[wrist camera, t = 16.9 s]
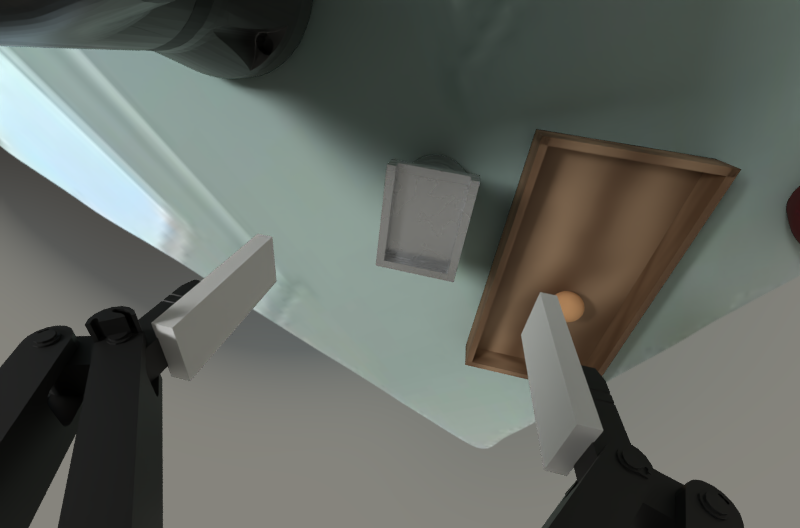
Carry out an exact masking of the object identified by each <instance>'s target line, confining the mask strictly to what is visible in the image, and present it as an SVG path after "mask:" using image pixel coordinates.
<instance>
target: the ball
mask: <svg viewBox="0 0 800 528" xmlns="http://www.w3.org/2000/svg"><path fill="white" fill-rule="evenodd" d="M556 296H557V297H558V300H559V303H560V306H561V309H562V312H563V315H564V318H565V320H566V322H574V321H576V320H578V319H579V318H580V317H581V316H582V315H583V313H584V309H585V307H584V302H583V300H582V299H581V297H580V296H579V295H577V294H576V293H574V292H570V291H562V292H559V293H557V294H556Z"/></svg>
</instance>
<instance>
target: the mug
mask: <svg viewBox="0 0 800 528" xmlns="http://www.w3.org/2000/svg"><path fill="white" fill-rule="evenodd" d="M786 211H787V216H788V221H789V225H790V228H791V231H792V233H793V235H794V237H795V238H796V240H797V241H798V242H799V243H800V186H799V187H798V188H797V189H796V190H795V191H794V192H793V193H792V195H791V196H790V198H789V200H788V202H787V207H786Z"/></svg>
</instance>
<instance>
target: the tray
mask: <svg viewBox="0 0 800 528" xmlns="http://www.w3.org/2000/svg"><path fill="white" fill-rule="evenodd" d="M740 170H741V169H739V168H737V167H734V166H732V165H729V164H727V163H724V162H722V161H719V160H717V159H713V158H707V157H701V156H695V155H689V154H683V153H677V152H671V151H665V150H659V149H653V148H647V147H641V146H635V145H629V144H623V143H617V142H611V141H605V140H599V139H593V138H587V137H581V136H575V135H569V134H563V133H557V132H551V131H545V130H539V129H536V131H535V134H534V138H533V141H532V144H531V147H530V150H529V153H528V156H527V159H526V162H525V165H524V168H523V171H522V174H521V178H520V181H519V184H518V187H517V190H516V193H515V196H514V199H513V202H512V205H511V208H510V211H509V214H508V218H507V221H506V224H505V227H504V230H503V233H502V236H501V239H500V242H499V245H498V248H497V251H496V254H495V258H494V261H493V264H492V267H491V270H490V273H489V276H488V279H487V282H486V285H485V288H484V291H483V294H482V298H481V301H480V304H479V307H478V310H477V313H476V316H475V319H474V322H473V325H472V328H471V331H470V334H469V338H468V341H467V344H466V359H465V365H469V366H473V367H478V368H482V369H486V370H490V371H495V372H499V373H503V374H507V375H512V376H516V377H520V378H524V379H528V373H527V367H526V361H525V355H524V349H523V343H522V338H521V334H522V331H523V329H524V327H525V325H526V323H527V320H528V318H529V316H530V314H531V311H532V309H533V307H534V305H535V302H536V300H537V298H538V296H539V294H540V292H542V293H547V294H551V295H556V294H557V293H559V292H562V291H570V292H574V293H576V294H577V295H579V296H580V297H581V299H582V300H583V302H584V307H585V309H584V313H583V315H582V316H581V317H580V318H579V319H578V320H576V321H574V322H566V323H567V326H568V329H569V332H570V335H571V338H572V341H573V344H574V347H575V349H576V352H577V355H578V358H579V361H580V364H581V365H583V366H588V367H592V368H595V369H596V370H597V371H598V372H599V373H600V375H601V376H602V375H603V374H604V372H605V371H606V369H607V368H608V367H609V365H610V364H611V362H612V361H613V359H614V358H615V356H616V355H617V353H618V352H619V350H620V349H621V347H622V346H623V344H624V343H625V341H626V340H627V338H628V337H629V335H630V334H631V332H632V331H633V329H634V328H635V326H636V325H637V323H638V322H639V320H640V319H641V317H642V316H643V315H644V313H645V312H646V310H647V309H648V307H649V306H650V304H651V303H652V301H653V300H654V298H655V297H656V295H657V294H658V292H659V291H660V289H661V288H662V286H663V285H664V283H665V282H666V280H667V279H668V277H669V276H670V274H671V273H672V271H673V270H674V268H675V267H676V265H677V264H678V263H679V261H680V260H681V258H682V257H683V255H684V254H685V252H686V251H687V249H688V248H689V246H690V245H691V243H692V242H693V240H694V239H695V237H696V236H697V234H698V233H699V231H700V230H701V228H702V227H703V225H704V224H705V222H706V221H707V219H708V218H709V216H710V215H711V214H712V212H713V211H714V209H715V208H716V206H717V205H718V203H719V202H720V200H721V199H722V197H723V196H724V194H725V193H726V191H727V190H728V188H729V187H730V185H731V184H732V182H733V181H734V179H735V178H736V176H737V175H738V173H739V172H740Z"/></svg>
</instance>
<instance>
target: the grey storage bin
mask: <svg viewBox="0 0 800 528" xmlns="http://www.w3.org/2000/svg"><path fill="white" fill-rule="evenodd" d="M479 185H480V175H475V174H470V173H466V172H465V171H464V169H463V168H462V167H461V166H460V165H459V164H458V163H457V162H456V161H455V160H453V159H451V158H449V157H446V156H443V155H427V156H424V157H421V158H419V159H417V160H416V161H414V162H413V163H411V162H406V161H400V160H395V159H391V160H390V161H389V163H388V164H387V169H386V178H385V187H384V196H383V205H382V214H381V223H380V232H379V241H378V250H377V259H376V265H377V266H381V267H386V268H391V269H395V270H400V271H404V272H409V273H414V274H418V275H423V276H427V277H432V278H437V279H441V280H446V281H451V282H454V278H455V275H456V271H457V267H458V263H459V260H460V256H461V252H462V248H463V245H464V241H465V237H466V233H467V230H468V226H469V222H470V218H471V215H472V211H473V207H474V203H475V200H476V196H477V192H478V188H479Z"/></svg>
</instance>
